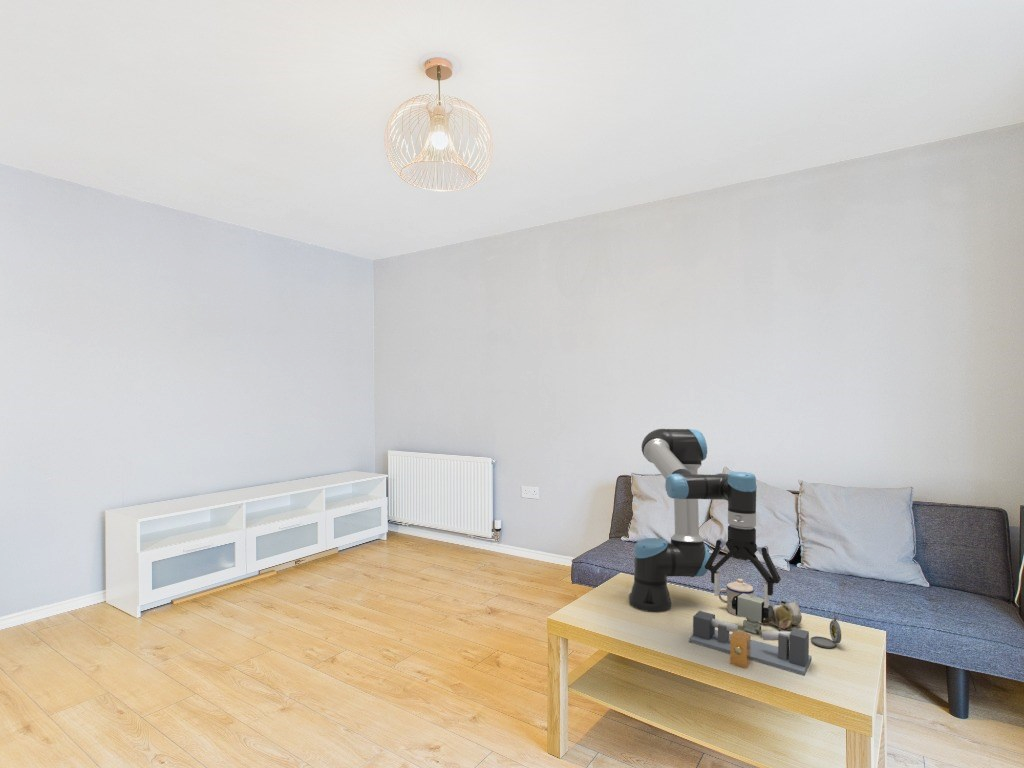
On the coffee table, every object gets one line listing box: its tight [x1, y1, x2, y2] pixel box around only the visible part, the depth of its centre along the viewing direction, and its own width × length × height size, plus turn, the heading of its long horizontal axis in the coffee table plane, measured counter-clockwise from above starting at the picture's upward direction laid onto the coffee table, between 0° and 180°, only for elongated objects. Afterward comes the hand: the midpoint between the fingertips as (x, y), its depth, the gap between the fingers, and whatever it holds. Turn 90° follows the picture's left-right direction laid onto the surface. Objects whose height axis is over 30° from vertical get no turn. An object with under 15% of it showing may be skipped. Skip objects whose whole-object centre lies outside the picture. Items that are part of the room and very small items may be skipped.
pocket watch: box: [810, 612, 842, 649], centre depth 168 cm, size 8×8×10 cm
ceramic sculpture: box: [763, 600, 803, 631], centre depth 181 cm, size 11×9×15 cm
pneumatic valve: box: [732, 593, 773, 635], centre depth 177 cm, size 6×12×12 cm, turn 45°
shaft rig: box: [688, 610, 812, 676], centre depth 163 cm, size 32×12×9 cm, turn 53°
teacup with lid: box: [717, 578, 755, 617], centre depth 193 cm, size 12×9×12 cm
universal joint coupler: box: [729, 630, 752, 669], centre depth 155 cm, size 6×4×8 cm
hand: (741, 600), depth 155 cm, fingers open, 13 cm apart
